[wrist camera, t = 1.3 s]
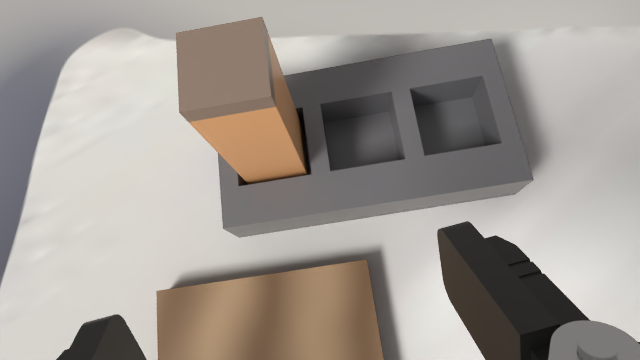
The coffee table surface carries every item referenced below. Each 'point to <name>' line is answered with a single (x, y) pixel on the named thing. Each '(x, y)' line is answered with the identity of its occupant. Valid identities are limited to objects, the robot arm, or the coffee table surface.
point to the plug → (241, 100)
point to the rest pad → (273, 317)
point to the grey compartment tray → (389, 142)
